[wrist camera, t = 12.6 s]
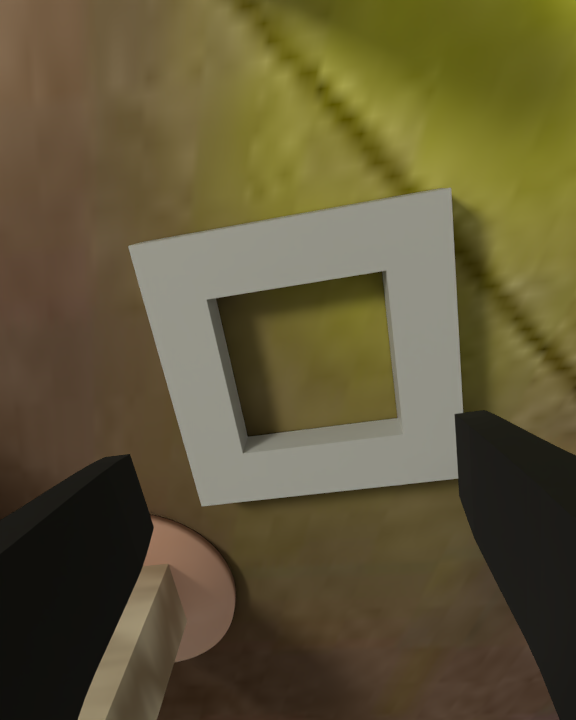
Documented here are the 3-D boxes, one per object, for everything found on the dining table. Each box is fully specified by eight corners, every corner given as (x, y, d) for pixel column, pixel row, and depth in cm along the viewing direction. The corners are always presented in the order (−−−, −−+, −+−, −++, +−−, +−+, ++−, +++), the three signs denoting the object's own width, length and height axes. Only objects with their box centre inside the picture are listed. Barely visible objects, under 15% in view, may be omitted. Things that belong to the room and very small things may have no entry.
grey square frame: (456, 458, 21) (466, 477, 20) (208, 487, 23) (201, 506, 21) (440, 188, 18) (451, 187, 16) (142, 242, 19) (128, 246, 18)
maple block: (187, 621, 25) (131, 802, 18) (118, 626, 26) (35, 804, 18) (168, 563, 24) (99, 733, 16) (96, 570, 24) (-2, 738, 17)
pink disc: (252, 647, 26) (251, 657, 26) (90, 658, 28) (85, 668, 27) (213, 503, 23) (210, 511, 23) (31, 523, 24) (24, 531, 24)
